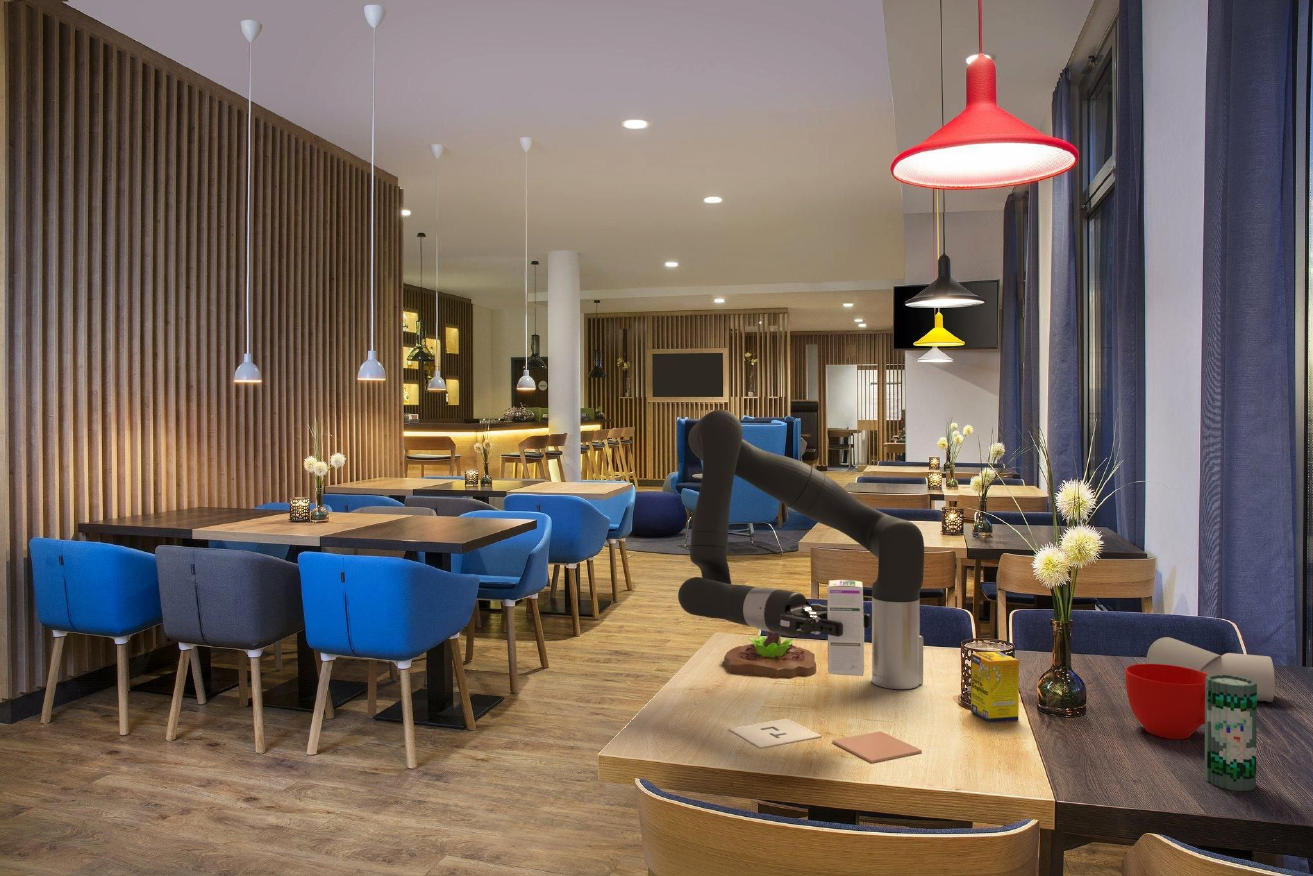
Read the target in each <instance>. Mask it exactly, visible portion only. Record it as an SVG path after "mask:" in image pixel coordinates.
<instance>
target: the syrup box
mask: <svg viewBox="0 0 1313 876" xmlns="http://www.w3.org/2000/svg"><path fill="white" fill-rule="evenodd" d="M863 587H864V586H863V581H861V580H855V579H834V580H832V579H831V580H828V584H827V587H826V589H827V590H826V592H827V593H826V594H827V597H826V598H827V600H826V601H827V602H826V603H827V606H828V620H831V621H837V622H841V623H842V624H843V635H842V636H839V637H837V636H832V635H827V664H828V665H827V671H828V674H830V675H837V676H855V677H861V676H862V677H863V676H864V674H865V628H864V613H865V612H864V588H863Z"/></svg>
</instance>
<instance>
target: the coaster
mask: <svg viewBox="0 0 1313 876" xmlns="http://www.w3.org/2000/svg"><path fill="white" fill-rule="evenodd" d="M831 741H832V744H834V745H836V746H839V747H840V748H842V749H843V750H846V751H848V752H849V753H852V754H853V755H856V756H857V757H859V758H861V759H863V760H864V761H867V762H868V763H871V764H874V763H880V762H884V761H889V760H895V759H899V758H903V757H907V756H913V755H917V754H922V752H923V750H922V749H920V748H918V747H915V746H914V745H912V744H909V743H907V742H905V741H903V740H901V739H899V738H896V737H894V736H892V735H890V734H888V733H885V732H883V731H881V730H879V731H874V732H869V733H862V734H858V735H853V736H848V737H843V738H838V739H832V740H831Z"/></svg>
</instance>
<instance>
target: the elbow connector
mask: <svg viewBox="0 0 1313 876" xmlns="http://www.w3.org/2000/svg"><path fill="white" fill-rule="evenodd" d="M1146 664H1164V665H1173V666H1179V667H1185V668H1190V669H1194V670H1197V671H1200V672H1203V673H1206V674H1208V675H1213V674H1217V675H1218V674H1225V675H1234V676H1241V677H1245V678H1249V679H1250V680H1254V681H1255V682H1256V683H1257V700H1258V701H1257V702H1263V701H1269V702H1268V703H1272V702H1273V701H1274V697H1275V687H1276V683H1275V667H1274V663H1273V660H1272V657H1271V656H1267V655H1257V654H1256V655H1254V654H1243V653H1234V652H1227V653H1224V654H1217V653H1215V652H1212V651H1209V650H1208V649H1207V650H1206V649H1203V648H1201V647H1199V646H1196V645H1192V644H1189V643H1187V642H1185V641H1181V640H1179V639H1175V638H1173V637H1169V636H1168V637H1166V636H1165V637H1161V638H1158V639H1156V640H1155V641H1154V642H1153V643H1152V644H1151V645H1150V646H1149V648H1148V651H1147V655H1146Z"/></svg>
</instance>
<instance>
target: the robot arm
mask: <svg viewBox="0 0 1313 876" xmlns="http://www.w3.org/2000/svg"><path fill="white" fill-rule="evenodd" d="M743 433H744V431H743V425H742V423H741V421H740V419H739V418H738V417H737V416H736V415H735V414H734V413H733V412H731V411H729V410H728V409H727V410H726V409H715V410H713V411H709V412H708V413H707V414H705V415H703V417H702V418H700V419H699V420H698V421H697V422H696V423H695V424H694V425H693V426H692V427H691V429H690V430H689V433H688V436H687V437H688V446H689V447H690V450H691V452H692V453H693V454H694V456H696V457H697V458H698V459H699V460H701V461H702V472H701V473H702V475H701V482H700V483H701V484H700V487H699V488H700V489H699V493H698V498H697V501H696V505H695V507H694V508H695V509H694V511H693V512H694V513H693V518H692V523H691V524H692V525H691V533H690V547H689V548H690V549H689V558H690V561H691V562H692V563H693V564H694V565H695V566H697V567H698V568H699V569H700V574H701V577H700V576H695V577H690V578H688V579H686V580H685V581H683V583H682V584H681V585H680V587H679V590H678V593H677V598H678V603H679V605H680V607H681V608H682V610H684V611H685V612H686V613H688V614H689V615H692V616H698V617H704V618H708V619H720V620H724V621H728V622H731V623H734V624H737V625H741V626H747V627H752V628H754V629H757V630H760V631H764V632H767V633H768V632H773V633H778V634H780V635H784V636H790V637H796V636H797V637H798V636H799V635H802V636H807V637H809V636H811V635H812V634H814V635H817V636H818V635H821V634H824V635H827V636H828V635H832V636H837V637H839V636H842V635H843V624H842V623H841V622H837V621H831V620H828V606H827V602H825V603H823V604H820V603H810V604H809V601H808V600H807V598H806V596H805V595H804V594H803V593H801V592H797V591H793V590H792V591H791V590H787V589H786V590H785V589H778V588H773V587H759V586H753V585H752V586H751V585H748V584H747V585H746V584H732V578H731V573H730V567H729V563H728V559H727V556H728V544H729V543H728V542H729V526H730V525H729V523H730V511H731V502H732V501H731V500H732V492H733V486H734V480H735V476H736V477H738V478H740V479H742V480H744V481H746V482H747V483H748V484H751V485H752V486H754V487H755V488H756V489H758V490H760V491H762V492H763V493H764V494H767V495H768V496H770V497H772V498H774V499H776V500H777V501H778V502H781V504H783V505H785V506H787V507H788V508H790V509H792V510H794V511H795V512H797V513H799V514H801V515H803V516H804V517H807V518H809V519H810V520H813V521H815V522H817V523H819V524H821V525H823V526H827V527H829V528H832V529H834V530H837V531H839V532H840V533H842V534H845V536H848V537H849V538H850V539H852V540H853V541H855V542H856V543H858V544H859V545H860V546H862V547H863V548H864V549H866V550H868V552H870V553H871V554H872V555H874V556H875V557H876V558H877V559H878V560H877V561H878V563H877V564H878V568H877V577H876V580H875V581H874V582H873V584H872V586H871V587H872V588H871V589H872V590H871V614H870V613H865V612H864V629H868V628H871V682H872V684H874V685H876V686H878V687H880V688H881V687H882V688H884V689H885V688H886V689H892V690H893V689H894V690H909V689H914V688H917V687H919V686H920V685H922V684H924V637H923V635H920V597H921V596H920V592H921V589H922V586H923V583H924V571H925V570H924V566H925V540H924V537H923V533H922V531H921V529H920V528H919V527H918V526H917V525H916V524H915V523H913V522H912V521H909V520H906V519H902V518H900V517H895V516H892V515H889V514H887V513H884V512H882V511H880V510H878V509H876V508H873V507H871V506H869V505H867V504H866V503H863V502H861V501H860V500H858V499H857V498H856V497H854V496H853V494H851V493H850V492H848V491H847V490H846V489H845V488H844V487H843V486H842V485H840V484H839V483H837V481H835V480H834V479H832V478H831V477H829V476H828V475H826V474H825V473H823V472H821V471H820V470H818V469H816V468H814V467H813V466H811V465H809V464H808V463H806V462H803V461H800V460H798V459H795V458H792V457H789V456H784V455H783V454H782V455H781V454H778V453H774V452H770V451H767V450H764V449H761V448H759V447H757V446H755V445H753V444H751V443H750V442H748V441H747V440H746V439H743V437H744V436H743V435H744V434H743Z"/></svg>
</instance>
